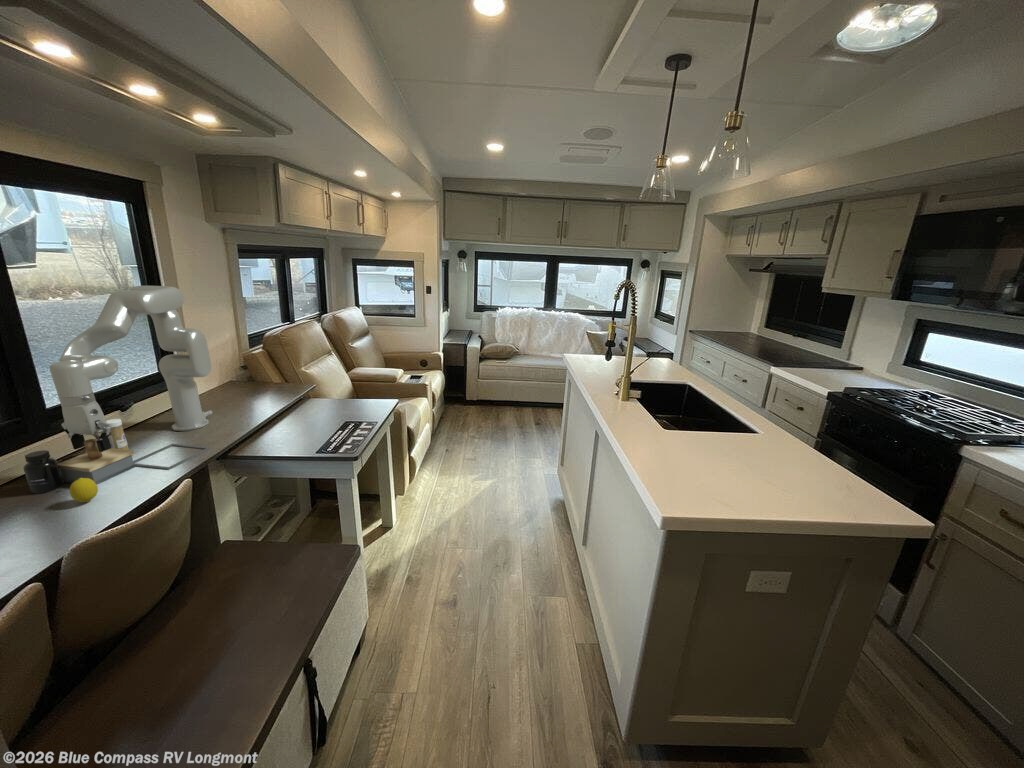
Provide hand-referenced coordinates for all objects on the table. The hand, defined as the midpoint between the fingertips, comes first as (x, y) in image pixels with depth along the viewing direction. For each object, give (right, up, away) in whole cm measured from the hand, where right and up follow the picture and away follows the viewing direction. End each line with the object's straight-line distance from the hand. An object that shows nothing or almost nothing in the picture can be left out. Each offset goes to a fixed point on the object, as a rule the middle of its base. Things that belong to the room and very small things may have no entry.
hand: (92, 448), depth 131 cm
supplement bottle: (-8, -12, -6) cm, 15 cm away
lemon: (+12, -14, -12) cm, 22 cm away
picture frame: (+12, -5, +16) cm, 21 cm away
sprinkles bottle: (-6, -5, +16) cm, 18 cm away
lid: (0, -4, +1) cm, 4 cm away
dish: (0, -9, +3) cm, 9 cm away
